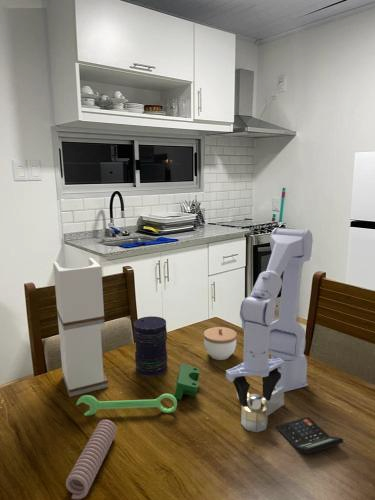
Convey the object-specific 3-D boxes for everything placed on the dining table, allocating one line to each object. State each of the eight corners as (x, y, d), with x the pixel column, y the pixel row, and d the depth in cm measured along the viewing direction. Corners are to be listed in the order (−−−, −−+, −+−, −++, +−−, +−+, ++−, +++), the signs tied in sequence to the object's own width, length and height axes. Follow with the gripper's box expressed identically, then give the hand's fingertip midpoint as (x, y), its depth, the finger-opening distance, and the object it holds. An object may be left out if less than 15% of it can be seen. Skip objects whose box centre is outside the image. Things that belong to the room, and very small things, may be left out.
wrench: (76, 418, 95) (74, 399, 94) (78, 413, 97) (76, 394, 96) (177, 414, 96) (177, 395, 95) (177, 409, 98) (176, 390, 97)
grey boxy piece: (108, 386, 108) (101, 266, 101) (69, 396, 104) (59, 271, 96) (98, 368, 118) (91, 257, 111) (62, 376, 114) (53, 262, 106)
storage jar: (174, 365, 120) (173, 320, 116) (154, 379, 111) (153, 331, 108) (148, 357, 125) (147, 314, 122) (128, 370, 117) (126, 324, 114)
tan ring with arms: (266, 389, 106) (267, 372, 105) (299, 419, 93) (300, 400, 92) (221, 400, 101) (221, 383, 100) (250, 434, 88) (250, 414, 87)
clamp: (191, 411, 103) (197, 393, 98) (171, 406, 103) (176, 388, 99) (196, 377, 112) (202, 359, 108) (178, 372, 112) (183, 354, 108)
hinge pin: (255, 418, 94) (256, 392, 92) (263, 425, 91) (263, 399, 90) (245, 421, 93) (245, 395, 91) (252, 429, 90) (253, 402, 88)
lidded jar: (238, 363, 120) (238, 335, 118) (204, 363, 120) (204, 335, 119) (234, 348, 131) (235, 322, 129) (203, 348, 131) (203, 322, 129)
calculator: (308, 419, 94) (308, 408, 93) (342, 451, 83) (343, 439, 82) (275, 429, 90) (275, 417, 90) (307, 463, 80) (307, 451, 79)
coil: (97, 417, 88) (60, 479, 71) (116, 417, 87) (84, 479, 70) (100, 435, 89) (65, 500, 72) (119, 435, 88) (88, 501, 71)
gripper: (237, 362, 82) (236, 418, 84) (293, 349, 87) (290, 403, 90) (221, 348, 88) (221, 401, 91) (275, 337, 93) (273, 388, 96)
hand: (254, 401), depth 91 cm, fingers open, 6 cm apart
